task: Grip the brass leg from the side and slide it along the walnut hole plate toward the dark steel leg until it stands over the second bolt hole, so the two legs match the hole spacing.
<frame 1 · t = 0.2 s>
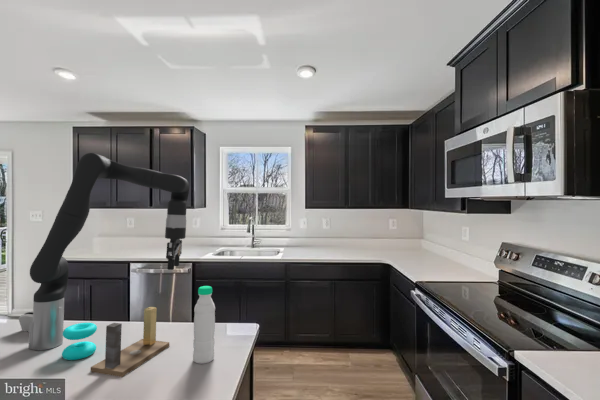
hand: (173, 267, 126), 29 cm above the countertop, tool pointing down, fingers open, 8 cm apart
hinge: (38, 333, 133), on the countertop
donuts: (79, 355, 113), on the countertop
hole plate: (135, 356, 112), on the countertop
brass leg: (149, 325, 119), point 8 cm above the countertop, slide at 0.0 cm
water bottle: (203, 360, 111), on the countertop
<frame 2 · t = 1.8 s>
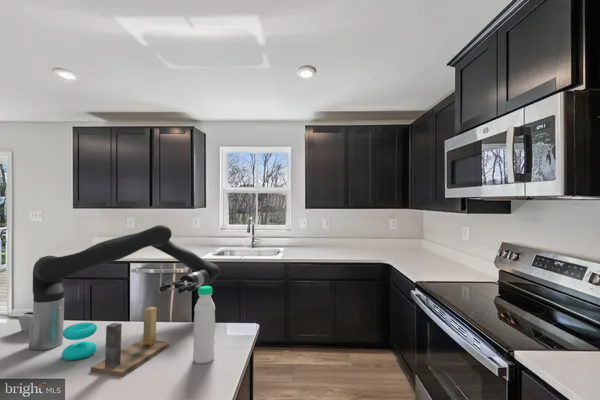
hand: (169, 290, 130), 19 cm above the countertop, tool horizontal, fingers open, 8 cm apart
nothing on the countertop moved.
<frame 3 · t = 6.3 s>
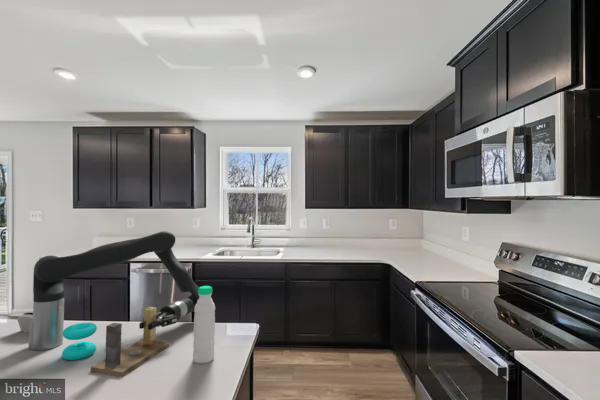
hand: (144, 326, 117), 9 cm above the countertop, tool horizontal, fingers closed on brass leg, 3 cm apart
brass leg: (149, 325, 119), point 8 cm above the countertop, slide at 0.0 cm, touching gripper
everything else where it was.
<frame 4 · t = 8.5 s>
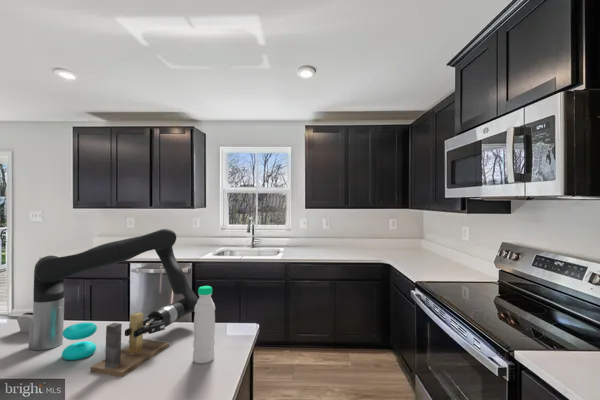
hand: (130, 333, 110), 9 cm above the countertop, tool horizontal, fingers closed on brass leg, 3 cm apart
brass leg: (136, 332, 112), point 8 cm above the countertop, slide at 7.0 cm, touching gripper
everything else where it was.
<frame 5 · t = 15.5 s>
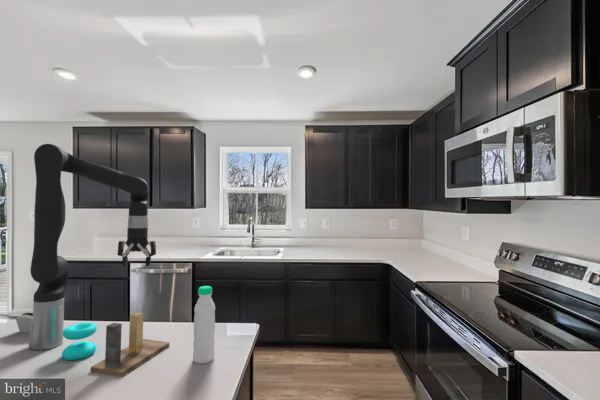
hand: (136, 266, 132), 28 cm above the countertop, tool pointing down, fingers open, 8 cm apart
brass leg: (136, 332, 112), point 8 cm above the countertop, slide at 7.0 cm
at the end: brass leg slide at 7.0 cm; the gripper is holding nothing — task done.
